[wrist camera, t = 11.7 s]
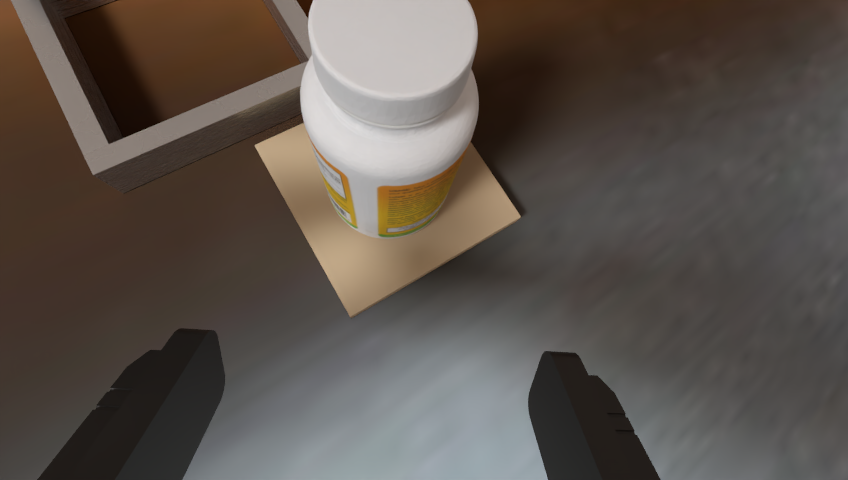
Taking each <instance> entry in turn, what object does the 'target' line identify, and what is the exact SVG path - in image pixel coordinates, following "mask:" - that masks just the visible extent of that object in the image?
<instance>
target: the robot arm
mask: <svg viewBox="0 0 848 480" xmlns="http://www.w3.org/2000/svg"><path fill="white" fill-rule="evenodd" d="M224 386H225V373H224V367H223V362H222V357H221V352H220V346H219V341H218V336H217V333H216V332H215V331H214V330H198V329H182V328H181V329H178V330H177V331H175V332H174V334H173V335H172V336H171V338H170V339H169V340H168V342H167V343H166V344H165V346H164V347H163V349H162V350H161V351H160V350H150V351H148V352H147V353H145V354H144V355H143V356H141V357H140V358H139V359H137V360H136V361H134V362H133V363H132V364H130V365H129V366H128V367H126V369H125V370H124V371H123V372H122V374H121V375H120V376H119V378H118V379H117V380H116V381H115V383H114V384H113V385H112V386H111V389H110V391H109V392H107V393H106V394H105V395H104V396H103V398H102V399H101V400H100V401H99V403H98V404H97V407H96V409H95V410H92V412H91V413H90V414H89V415H88V417H87V418H86V419H85V420H84V422H83V423H82V424H81V425H80V427H79V428H78V429H77V430H76V432H75V433H74V434H73V435H72V437H71V438H70V439H69V440H68V442H67V443H66V444H65V446H64V447H63V448H62V449H61V451H60V452H59V453H58V454H57V456H56V457H55V458H54V459H53V461H52V462H51V463H50V464H49V466H48V467H47V468H46V469H45V471H44V472H43V473H42V474H41V476H40V477H39V478H38V479H37V480H182V479H183V477H184V475H185V473H186V471H187V469H188V467H189V465H190V463H191V461H192V458H193V456H194V454H195V452H196V450H197V448H198V446H199V444H200V442H201V440H202V438H203V436H204V434H205V432H206V430H207V428H208V426H209V423H210V421H211V419H212V417H213V415H214V413H215V411H216V409H217V407H218V405H219V403H220V401H221V398H222V395H223V391H224ZM528 407H529V415H530V419H531V423H532V426H533V429H534V433H535V436H536V440H537V443H538V446H539V450H540V453H541V457H542V460H543V463H544V467H545V470H546V474H547V477H548V480H660V478H659V476H658V474H657V472H656V470H655V468H654V466H653V465H652V463H651V461H650V459H649V457H648V455H647V453H646V451H645V449H644V448H643V446H642V444H641V442H640V440H639V438H638V436H637V435H635V434H634V429H633V427H632V425H631V423H630V421H629V419H628V418H626V417H625V412H624V410H623V408H622V406H621V404H620V403H619V401H618V399H617V397H616V395H615V393H614V392H613V391H612V390H611V389H610V388H609V387H608V386H607V385H606V384H605V383H604V382H603V381H602V380H601V379H600V378H599V377H598V376H593V375H588V373H587V371H586V369H585V367H584V365H583V363H582V361H581V359H580V357H579V356H578V355H577V354H576V353H568V352H551V351H545V352H544V353H543V354H542V357H541V360H540V362H539V365H538V368H537V371H536V374H535V377H534V380H533V383H532V386H531V389H530V392H529V398H528Z"/></svg>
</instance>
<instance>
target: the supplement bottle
mask: <svg viewBox="0 0 848 480" xmlns="http://www.w3.org/2000/svg"><path fill="white" fill-rule="evenodd" d="M308 34H309V40H310V46H311V51H312V55H311V57H310V59H309V61H308V63H307V65H306V67H305V70H304V73H303V77H302V81H301V89H300V102H301V111H302V115H303V120H304V124H305V128H306V131H307V134H308V137H309V140H310V142H311V145H312V148H313V151H314V154H315V156H316V159H317V162H318V165H319V169H320V171H321V174H322V177H323V180H324V183H325V186H326V189H327V192H328V195H329V198H330V200H331V202H332V204H333V206H334V208H335V210H336V212H337V213H338V214H339V216H340V217H341V218H342V219H343V220H344V221H345V222H346V223H347V224H348V225H349V226H350V227H352V228H353V229H355V230H356V231H358V232H360V233H362V234H365V235H367V236H370V237H374V238H380V239H395V238H401V237H405V236H409V235H411V234H414V233H416V232H418V231H420V230H421V229H423V228H424V227H426V226H427V225H428V224H429V223H430V222H431V221H432V220H433V219H434V218H435V216H436V215H437V214H438V212H439V211H440V209H441V207H442V205H443V203H444V201H445V199H446V197H447V194H448V192H449V189H450V187H451V185H452V182H453V180H454V178H455V175H456V173H457V171H458V169H459V166H460V165H461V162H462V160H463V158H464V156H465V153H466V151H467V148H468V146H469V144H470V141H471V139H472V136H473V132H474V129H475V126H476V123H477V118H478V110H479V97H478V90H477V84H476V81H475V77H474V74H473V72H472V70H471V67H472V63H473V60H474V56H475V52H476V48H477V41H478V29H477V22H476V18H475V15H474V12H473V9H472V7H471V5H470V3H469V1H468V0H313V2H312V5H311V8H310V11H309V18H308Z"/></svg>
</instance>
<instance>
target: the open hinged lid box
mask: <svg viewBox="0 0 848 480" xmlns="http://www.w3.org/2000/svg"><path fill="white" fill-rule="evenodd" d="M11 1H12V3H13V5H14V7H15V10H16V12H17V14H18V16H19V18H20V20H21V22H22V25H23V27H24V29H25V31H26V33H27V35H28V37H29V40H30V42H31V44H32V46H33V48H34V50H35V52H36V54H37V57H38V59H39V61H40V63H41V65H42V67H43V69H44V72H45V74H46V76H47V78H48V80H49V82H50V84H51V87H52V89H53V91H54V93H55V95H56V97H57V99H58V102H59V104H60V106H61V108H62V110H63V112H64V114H65V116H66V119H67V121H68V123H69V125H70V127H71V129H72V131H73V134H74V136H75V138H76V140H77V142H78V144H79V146H80V149H81V151H82V153H83V155H84V157H85V159H86V161H87V163H88V166H89V168H90V170H91V172H92V174H93V175H94V176H95V177H97V178H99V179H100V180H102V181H104V182H105V183H107V184H109V185H110V186H112V187H114V188H115V189H117V190H119V191H120V192H122V193H125V192H127V191H130V190H132V189H134V188H136V187H139V186H141V185H143V184H145V183H148V182H150V181H152V180H154V179H157V178H159V177H161V176H163V175H165V174H168V173H170V172H172V171H174V170H177V169H179V168H181V167H183V166H186V165H188V164H190V163H192V162H194V161H197V160H199V159H201V158H203V157H206V156H208V155H210V154H212V153H215V152H217V151H219V150H221V149H224V148H226V147H228V146H230V145H232V144H235V143H237V142H239V141H241V140H244V139H246V138H248V137H250V136H253V135H255V134H257V133H259V132H261V131H264V130H266V129H268V128H270V127H273V126H275V125H277V124H279V123H282V122H284V121H286V120H288V119H290V118H293V117H295V116H297V115H299V114H302V111H301V102H300V89H301V81H302V77H303V73H304V70H305V67H306V65H307V63H308V61H309V59H310V57H311V55H312V51H311V46H310V40H309V34H308V18H307V16H306V15H305V13H304V12H303V10H302V8H301V7H300V5H299V4H298V2H297V0H263V1H264V3H265V4H266V6H267V8H268V9H269V11H270V13H271V14H272V16H273V18H274V19H275V21H276V23H277V24H278V26H279V27H280V29H281V31H282V32H283V34H284V36H285V37H286V39H287V41H288V42H289V44H290V46H291V47H292V49H293V51H294V52H295V54H296V55H297V57H298V59H299V60H300V62H301V64H300V65H297V66H295V67H292V68H290V69H288V70H285V71H283V72H280V73H278V74H276V75H273V76H271V77H269V78H266V79H264V80H261V81H259V82H257V83H254V84H252V85H249V86H247V87H245V88H242V89H240V90H237V91H235V92H233V93H230V94H228V95H225V96H223V97H221V98H218V99H216V100H214V101H211V102H209V103H206V104H204V105H202V106H199V107H197V108H194V109H192V110H190V111H187V112H185V113H182V114H180V115H178V116H175V117H173V118H171V119H168V120H166V121H163V122H161V123H159V124H156V125H154V126H151V127H149V128H147V129H144V130H142V131H139V132H137V133H135V134H132V135H130V136H127V137H125V138H123V136H122V134H121V132H120V130H119V128H118V126H117V124H116V122H115V120H114V118H113V116H112V114H111V112H110V110H109V108H108V106H107V104H106V102H105V100H104V98H103V96H102V94H101V91H100V89H99V87H98V85H97V83H96V81H95V79H94V77H93V75H92V73H91V71H90V69H89V67H88V65H87V63H86V61H85V59H84V57H83V55H82V53H81V51H80V49H79V47H78V45H77V43H76V41H75V39H74V37H73V35H72V33H71V31H70V29H69V27H68V24H67V22H66V20H65V18H66V17H69V16H72V15H75V14H77V13H80V12H83V11H86V10H89V9H92V8H95V7H98V6H101V5H104V4H107V3H110V2H112V1H115V0H11Z"/></svg>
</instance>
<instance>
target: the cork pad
mask: <svg viewBox="0 0 848 480" xmlns="http://www.w3.org/2000/svg"><path fill="white" fill-rule="evenodd" d="M255 147H256V149H257V151H258V153H259V154H260V156H261V158H262V160H263V162H264V163H265V165H266V167H267V169H268V171H269V172H270V174H271V176H272V178H273V180H274V181H275V183H276V185H277V187H278V188H279V190H280V192H281V194H282V196H283V197H284V199H285V201H286V203H287V205H288V206H289V208H290V210H291V212H292V214H293V215H294V217H295V219H296V221H297V223H298V224H299V226H300V228H301V230H302V231H303V233H304V235H305V237H306V239H307V240H308V242H309V244H310V246H311V248H312V249H313V251H314V253H315V255H316V257H317V258H318V260H319V262H320V264H321V266H322V267H323V269H324V271H325V273H326V274H327V276H328V278H329V280H330V282H331V283H332V285H333V287H334V289H335V291H336V292H337V294H338V296H339V298H340V300H341V301H342V303H343V305H344V307H345V309H346V310H347V312H348V314H349V316H350V317H351V318H353V317H355V316H356V315H358V314H360V313H361V312H363V311H365V310H367V309H368V308H370V307H372V306H373V305H375V304H377V303H378V302H380V301H382V300H384V299H385V298H387V297H389V296H390V295H392V294H394V293H396V292H397V291H399V290H401V289H402V288H404V287H406V286H407V285H409V284H411V283H413V282H414V281H416V280H418V279H419V278H421V277H423V276H424V275H426V274H428V273H430V272H431V271H433V270H435V269H436V268H438V267H440V266H442V265H443V264H445V263H447V262H448V261H450V260H452V259H453V258H455V257H457V256H459V255H460V254H462V253H464V252H465V251H467V250H469V249H471V248H472V247H474V246H476V245H477V244H479V243H481V242H482V241H484V240H486V239H488V238H489V237H491V236H493V235H494V234H496V233H498V232H499V231H501V230H503V229H505V228H506V227H508V226H510V225H511V224H513V223H515V222H516V221H517V220H518V219H519V218H521V216H520V215H519V213H518V212H517V210H516V209H515V207H514V206H513V204H512V203H511V201H510V200H509V198H508V197H507V195H506V194H505V192H504V191H503V189H502V188H501V186H500V185H499V183H498V182H497V180H496V179H495V177H494V176H493V174H492V173H491V171H490V170H489V168H488V167H487V165H486V164H485V162H484V161H483V159H482V158H481V156H480V155H479V153H478V152H477V150H476V149H475V147H474V146H473V144H472V143H471V141H470V144H469V146H468V148H467V151H466V153H465V156H464V158H463V160H462V162H461V165H460V166H459V169H458V171H457V173H456V175H455V178H454V180H453V182H452V185H451V187H450V189H449V192H448V194H447V197H446V199H445V201H444V203H443V205H442V207H441V209H440V211H439V212H438V214H437V215H436V216H435V218H434V219H433V220H432V221H431V222H430V223H429V224H428V225H427V226H426V227H424V228H423V229H421V230H420V231H418V232H416V233H414V234H411V235H409V236H405V237H401V238H395V239H380V238H374V237H370V236H367V235H365V234H362V233H360V232H358V231H356V230H355V229H353V228H352V227H350V226H349V225H348V224H347V223H346V222H345V221H344V220H343V219H342V218H341V217H340V216H339V214H338V213H337V212H336V210H335V208H334V206H333V204H332V202H331V200H330V198H329V195H328V192H327V189H326V186H325V183H324V180H323V177H322V174H321V171H320V169H319V165H318V162H317V159H316V156H315V154H314V151H313V148H312V145H311V142H310V140H309V137H308V134H307V131H306V128H305V124H304V123H302V124H300V125H298V126H296V127H294V128H291V129H289V130H287V131H285V132H283V133H280V134H278V135H276V136H274V137H272V138H269V139H267V140H265V141H263V142H261V143H258V144H256V145H255Z"/></svg>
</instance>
